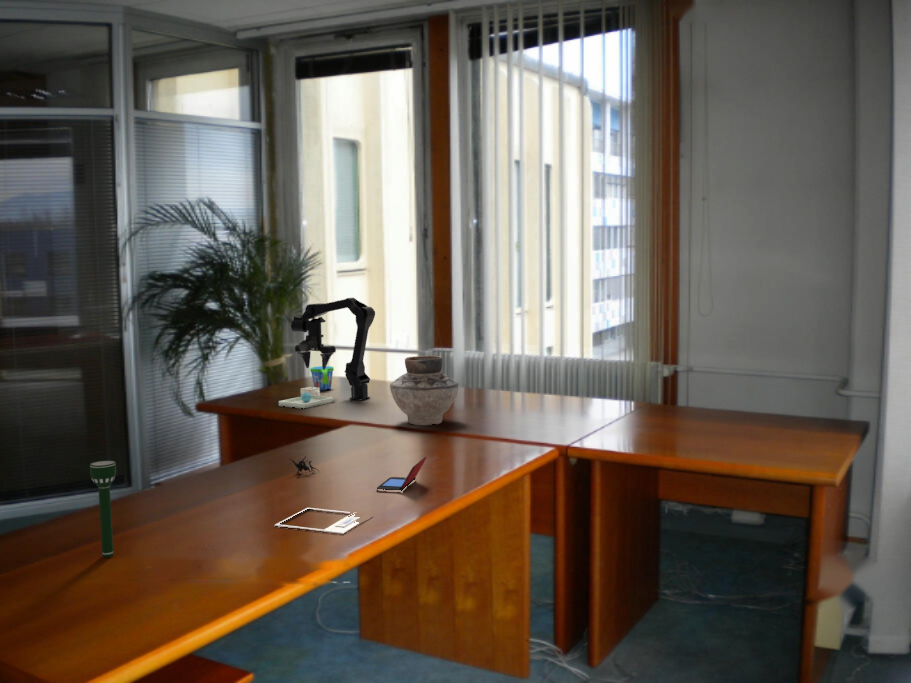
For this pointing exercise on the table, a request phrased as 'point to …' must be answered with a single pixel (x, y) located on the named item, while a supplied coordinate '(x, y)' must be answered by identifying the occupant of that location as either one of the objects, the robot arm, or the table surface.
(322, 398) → the tray
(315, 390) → the cup
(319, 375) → the snack cup
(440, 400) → the ceramic pot
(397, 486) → the handheld game console
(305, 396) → the ball
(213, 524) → the table surface
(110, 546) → the flashlight
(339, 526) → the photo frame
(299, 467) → the creature
